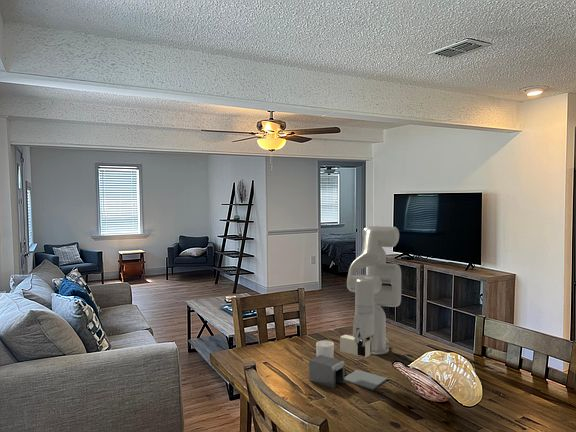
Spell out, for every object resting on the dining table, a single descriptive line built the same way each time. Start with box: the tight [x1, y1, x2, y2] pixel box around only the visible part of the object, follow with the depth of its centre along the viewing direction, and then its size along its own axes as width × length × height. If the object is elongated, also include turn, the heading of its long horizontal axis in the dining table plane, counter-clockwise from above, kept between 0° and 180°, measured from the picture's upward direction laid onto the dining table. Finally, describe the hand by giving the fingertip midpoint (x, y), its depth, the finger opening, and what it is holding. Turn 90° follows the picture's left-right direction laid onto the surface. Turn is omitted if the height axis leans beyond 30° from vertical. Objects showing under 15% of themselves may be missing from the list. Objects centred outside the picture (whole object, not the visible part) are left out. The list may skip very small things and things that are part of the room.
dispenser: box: [308, 355, 346, 390], centre depth 176 cm, size 8×12×9 cm, turn 50°
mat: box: [345, 369, 388, 391], centre depth 178 cm, size 12×14×1 cm
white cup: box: [315, 340, 335, 359], centre depth 193 cm, size 8×8×10 cm
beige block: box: [339, 334, 371, 359], centre depth 180 cm, size 4×12×6 cm, turn 50°
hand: (364, 353), depth 177 cm, fingers closed on beige block, 4 cm apart
